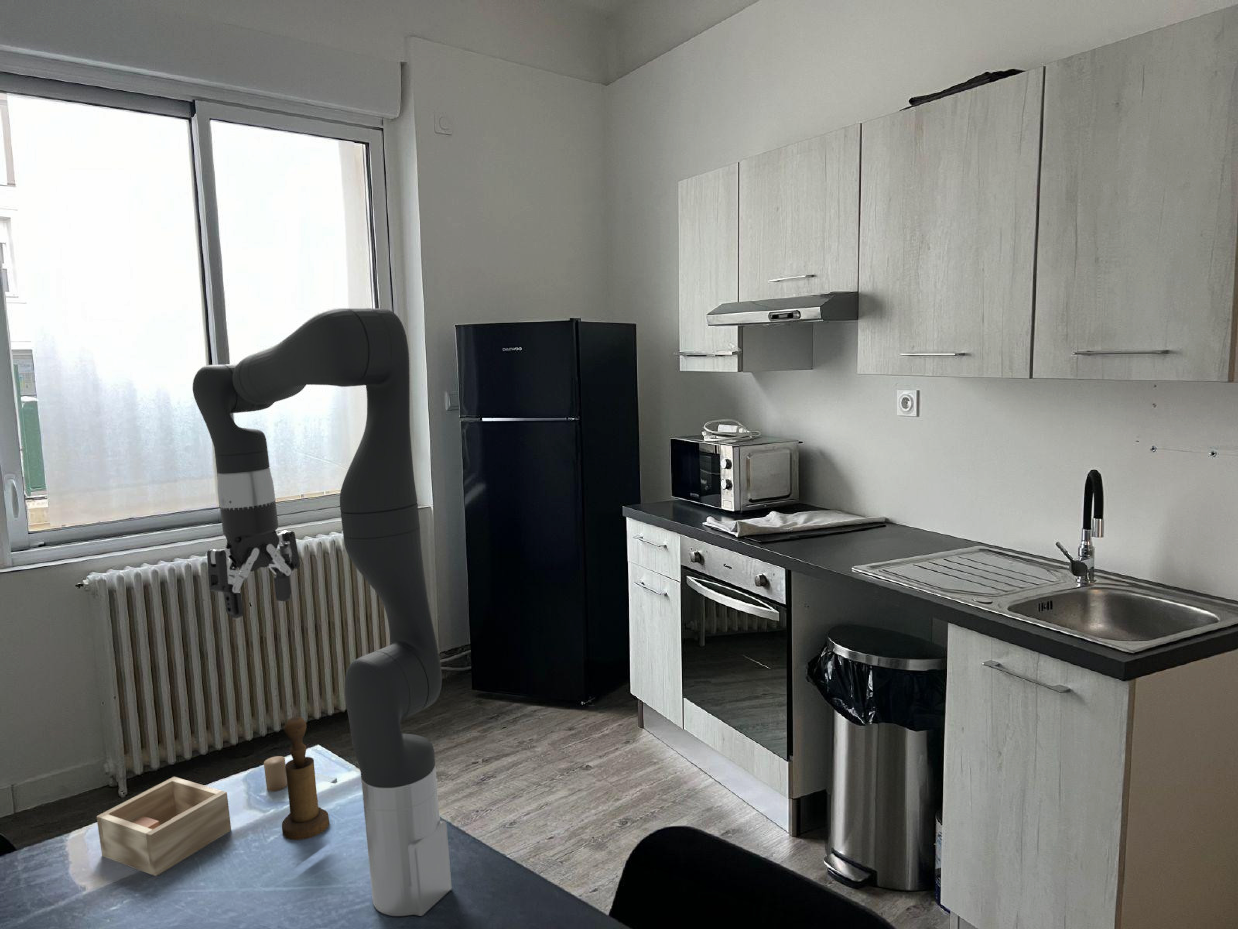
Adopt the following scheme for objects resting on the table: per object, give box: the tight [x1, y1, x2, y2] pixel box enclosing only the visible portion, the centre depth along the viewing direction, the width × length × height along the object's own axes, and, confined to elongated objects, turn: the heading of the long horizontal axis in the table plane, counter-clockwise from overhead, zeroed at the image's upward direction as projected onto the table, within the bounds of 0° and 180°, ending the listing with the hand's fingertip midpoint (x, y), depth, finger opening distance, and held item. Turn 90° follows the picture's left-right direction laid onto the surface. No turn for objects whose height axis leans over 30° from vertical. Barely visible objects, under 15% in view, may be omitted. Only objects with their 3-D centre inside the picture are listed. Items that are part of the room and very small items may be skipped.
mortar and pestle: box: [281, 716, 330, 841], centre depth 125 cm, size 7×6×18 cm
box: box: [96, 776, 232, 877], centre depth 124 cm, size 12×12×7 cm
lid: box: [263, 755, 338, 793], centre depth 139 cm, size 13×13×6 cm
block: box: [132, 816, 160, 830], centre depth 123 cm, size 4×4×4 cm
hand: (260, 608), depth 127 cm, fingers open, 8 cm apart
